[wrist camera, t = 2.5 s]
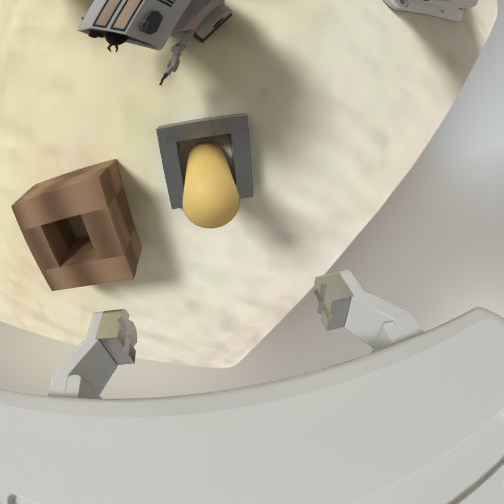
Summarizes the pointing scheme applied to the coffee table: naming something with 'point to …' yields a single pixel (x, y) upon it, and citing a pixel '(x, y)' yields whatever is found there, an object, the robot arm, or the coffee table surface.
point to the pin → (209, 187)
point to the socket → (96, 222)
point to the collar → (199, 129)
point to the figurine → (154, 23)
